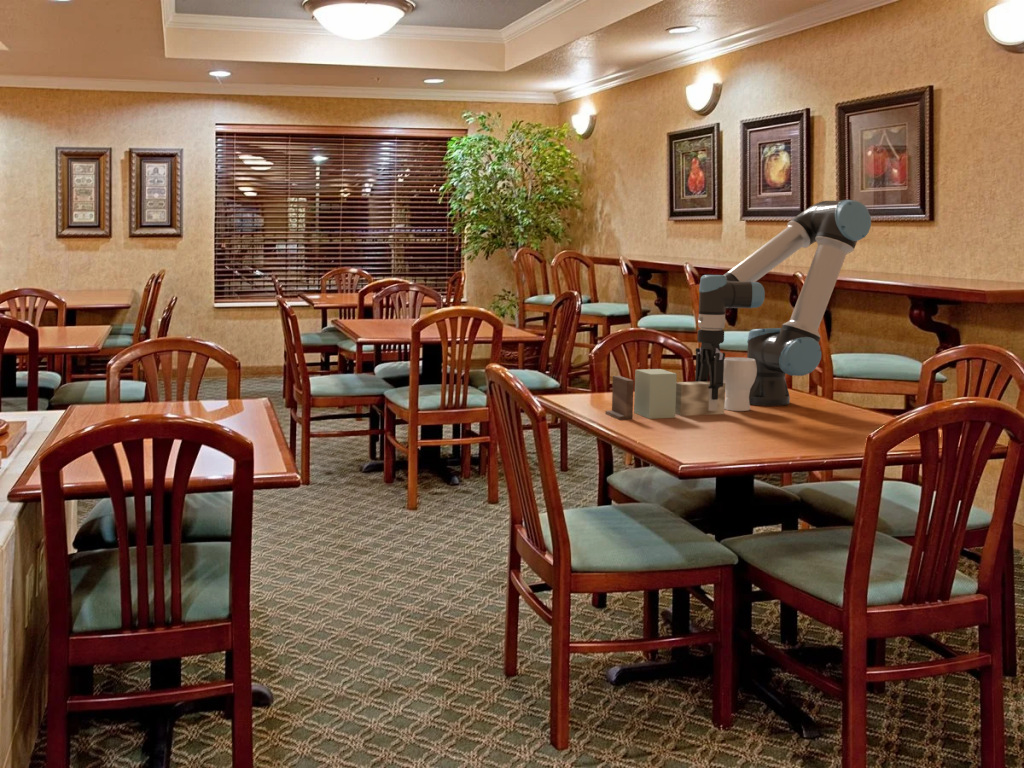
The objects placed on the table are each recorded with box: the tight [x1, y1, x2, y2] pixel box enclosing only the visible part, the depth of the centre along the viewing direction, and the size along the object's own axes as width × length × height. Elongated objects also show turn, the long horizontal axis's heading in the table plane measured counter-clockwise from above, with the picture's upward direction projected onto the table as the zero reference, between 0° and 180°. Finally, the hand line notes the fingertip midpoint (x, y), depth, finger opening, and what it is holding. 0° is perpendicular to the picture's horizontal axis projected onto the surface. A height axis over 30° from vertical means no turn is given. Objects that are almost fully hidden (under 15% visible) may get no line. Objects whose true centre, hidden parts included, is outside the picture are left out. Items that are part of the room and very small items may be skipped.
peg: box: [675, 380, 726, 417], centre depth 307 cm, size 14×5×9 cm, turn 108°
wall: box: [604, 375, 635, 421], centre depth 299 cm, size 4×10×11 cm, turn 18°
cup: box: [723, 356, 757, 412], centre depth 315 cm, size 11×11×15 cm
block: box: [633, 368, 678, 420], centre depth 303 cm, size 8×10×12 cm
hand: (707, 408), depth 308 cm, fingers closed on peg, 5 cm apart
